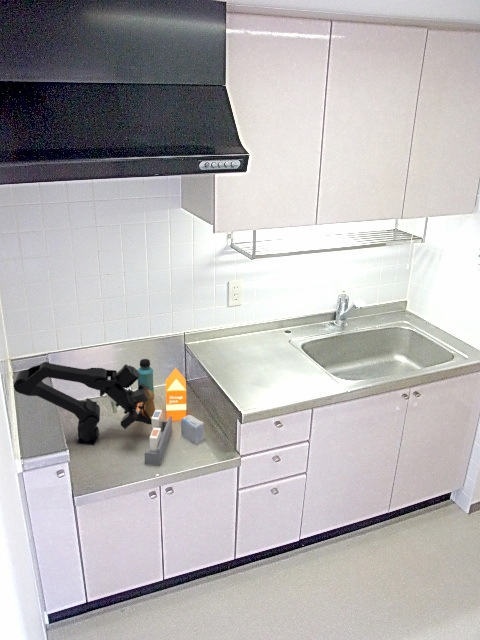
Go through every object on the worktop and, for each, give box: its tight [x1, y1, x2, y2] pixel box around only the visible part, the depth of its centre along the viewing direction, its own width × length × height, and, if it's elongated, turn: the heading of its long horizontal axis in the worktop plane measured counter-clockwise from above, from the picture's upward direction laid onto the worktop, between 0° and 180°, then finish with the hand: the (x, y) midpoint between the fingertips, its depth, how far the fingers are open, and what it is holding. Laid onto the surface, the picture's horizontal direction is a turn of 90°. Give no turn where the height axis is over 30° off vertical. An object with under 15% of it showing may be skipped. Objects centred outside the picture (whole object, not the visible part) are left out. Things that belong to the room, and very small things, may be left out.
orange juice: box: [165, 367, 187, 422], centre depth 214 cm, size 8×9×20 cm
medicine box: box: [180, 414, 205, 445], centre depth 203 cm, size 8×4×9 cm, turn 48°
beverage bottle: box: [136, 358, 155, 401], centre depth 222 cm, size 6×7×20 cm
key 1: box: [149, 428, 161, 452], centre depth 191 cm, size 2×6×10 cm, turn 175°
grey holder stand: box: [143, 416, 173, 466], centre depth 197 cm, size 7×20×8 cm, turn 175°
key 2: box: [151, 409, 163, 433], centre depth 201 cm, size 2×6×10 cm, turn 174°
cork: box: [142, 390, 156, 418], centre depth 216 cm, size 6×6×11 cm
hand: (151, 423), depth 201 cm, fingers closed
